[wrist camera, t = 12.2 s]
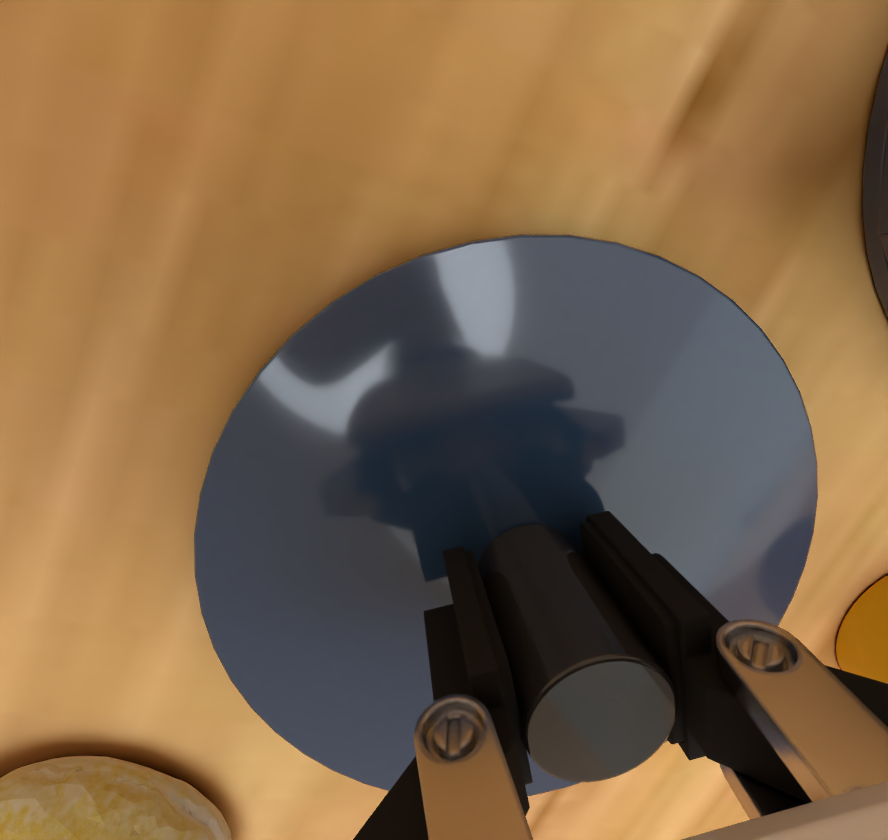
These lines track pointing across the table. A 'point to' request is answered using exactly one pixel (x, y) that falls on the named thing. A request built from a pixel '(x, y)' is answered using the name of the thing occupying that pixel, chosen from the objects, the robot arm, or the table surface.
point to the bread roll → (103, 803)
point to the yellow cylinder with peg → (866, 635)
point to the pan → (877, 189)
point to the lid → (497, 495)
